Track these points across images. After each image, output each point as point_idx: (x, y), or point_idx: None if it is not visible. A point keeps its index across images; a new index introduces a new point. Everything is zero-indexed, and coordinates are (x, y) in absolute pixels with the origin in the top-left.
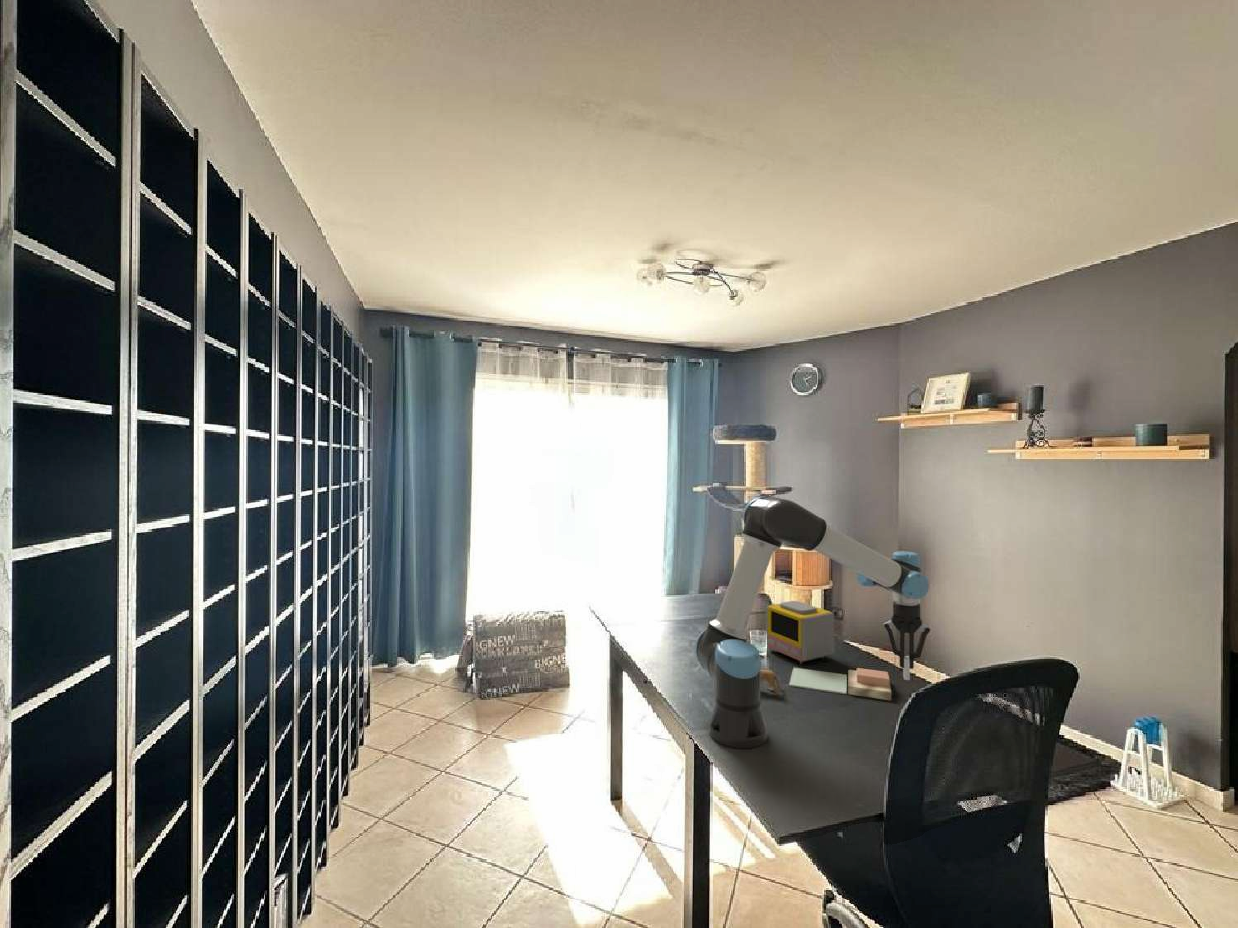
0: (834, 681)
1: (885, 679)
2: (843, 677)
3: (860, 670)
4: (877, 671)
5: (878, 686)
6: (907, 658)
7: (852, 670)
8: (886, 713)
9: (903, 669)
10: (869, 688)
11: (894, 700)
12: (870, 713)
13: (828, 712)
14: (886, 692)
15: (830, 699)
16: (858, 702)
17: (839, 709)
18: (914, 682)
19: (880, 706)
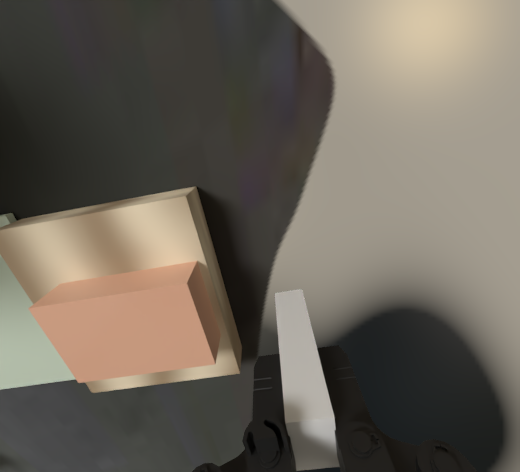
0: (16, 310)
1: (202, 362)
2: None
3: (63, 331)
4: (139, 303)
5: None
6: (322, 459)
7: (9, 233)
8: (244, 419)
9: (277, 323)
10: (162, 378)
11: (251, 341)
12: (208, 433)
13: (121, 464)
14: (223, 372)
15: (87, 413)
16: (159, 398)
17: (135, 446)
18: (312, 106)
19: (221, 393)
